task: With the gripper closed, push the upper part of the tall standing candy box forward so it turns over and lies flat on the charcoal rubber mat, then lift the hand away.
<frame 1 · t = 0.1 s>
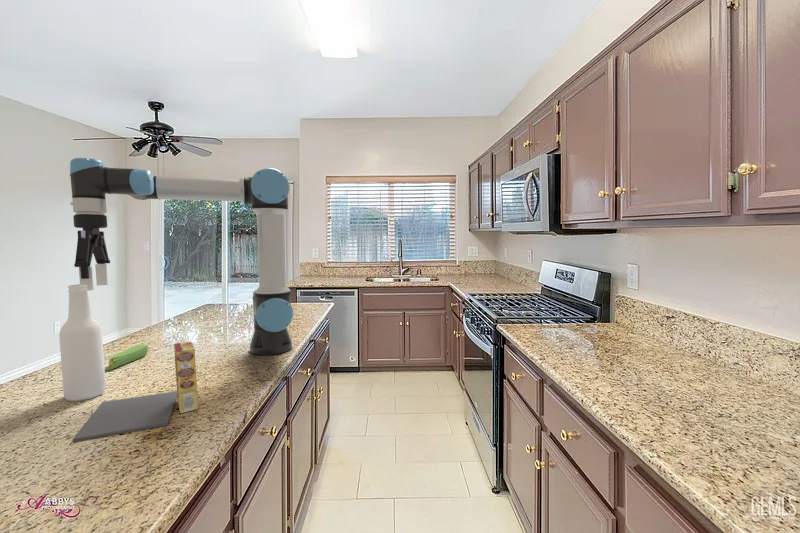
hand: (95, 287, 113), 28 cm above the counter, tool pointing down, fingers open, 13 cm apart
edible corn: (126, 363, 132), on the counter
rubber mat: (133, 414, 93), on the counter
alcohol: (85, 396, 105), on the counter
candy box: (187, 406, 97), on the counter
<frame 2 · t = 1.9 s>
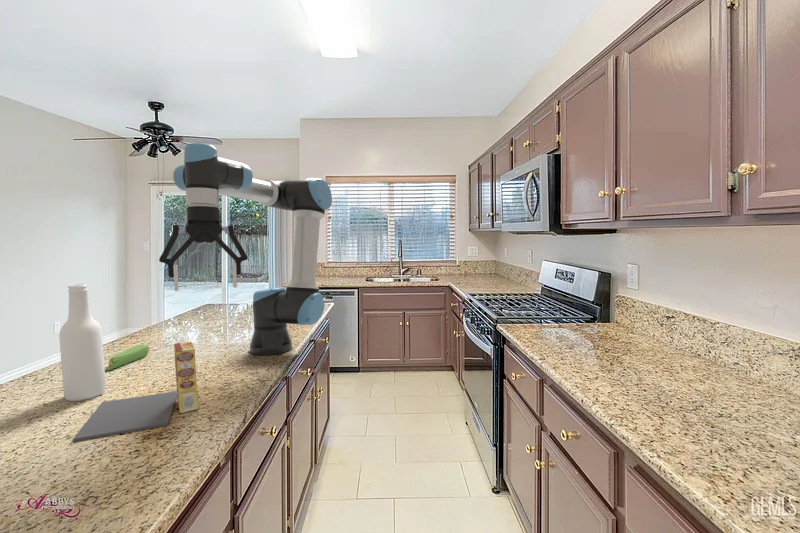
hand: (206, 288, 101), 29 cm above the counter, tool pointing down, fingers open, 13 cm apart
nothing on the counter moved.
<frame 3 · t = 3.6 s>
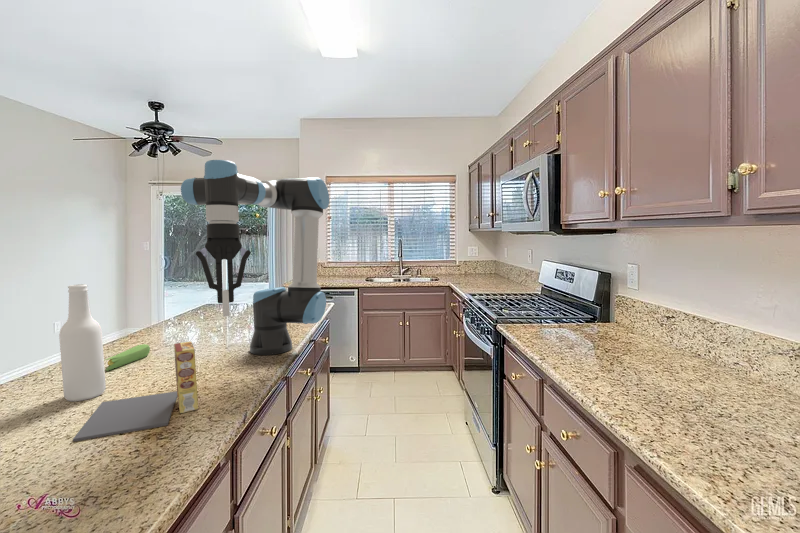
hand: (226, 315, 99), 22 cm above the counter, tool pointing down, fingers closed
nothing on the counter moved.
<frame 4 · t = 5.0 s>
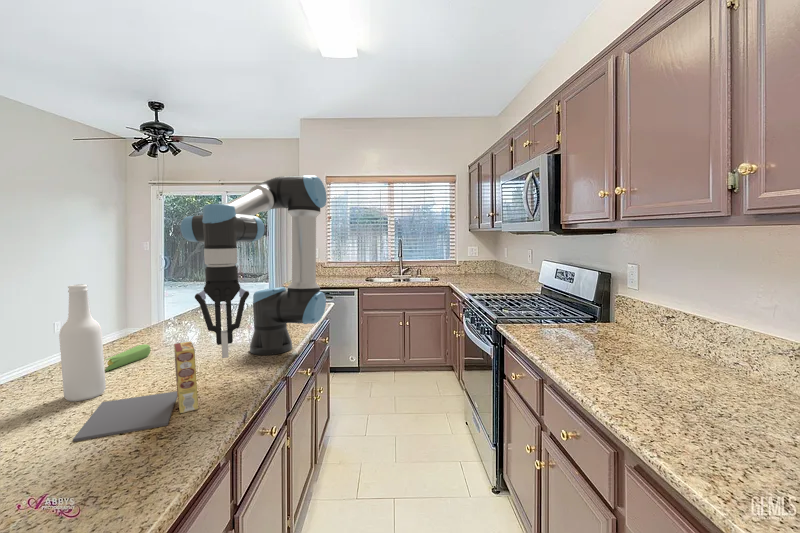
hand: (225, 356, 100), 11 cm above the counter, tool pointing down, fingers closed
nothing on the counter moved.
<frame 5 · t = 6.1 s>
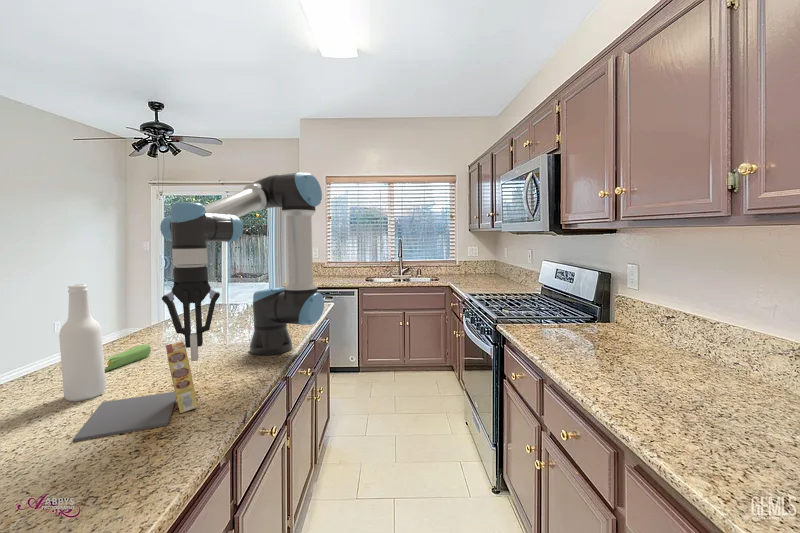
hand: (194, 359, 97), 12 cm above the counter, tool pointing down, fingers closed
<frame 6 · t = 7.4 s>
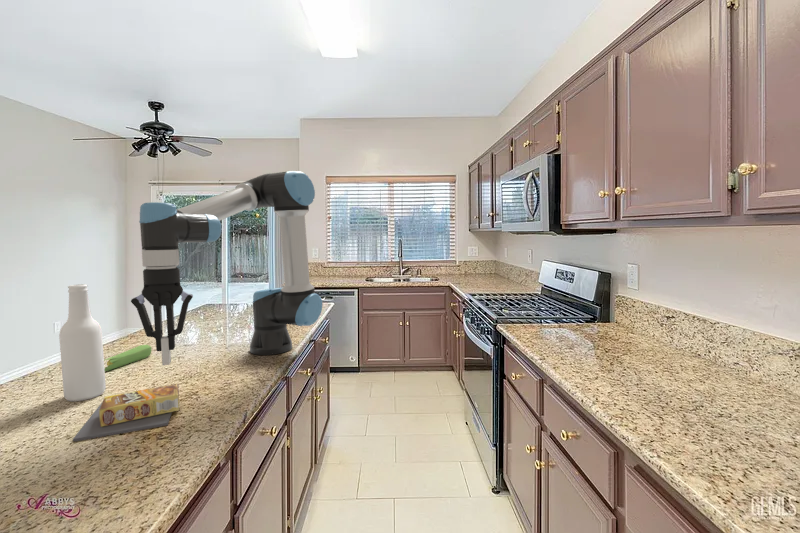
hand: (166, 363, 95), 11 cm above the counter, tool pointing down, fingers closed
candy box: (179, 396, 96), point 3 cm above the counter, touching rubber mat
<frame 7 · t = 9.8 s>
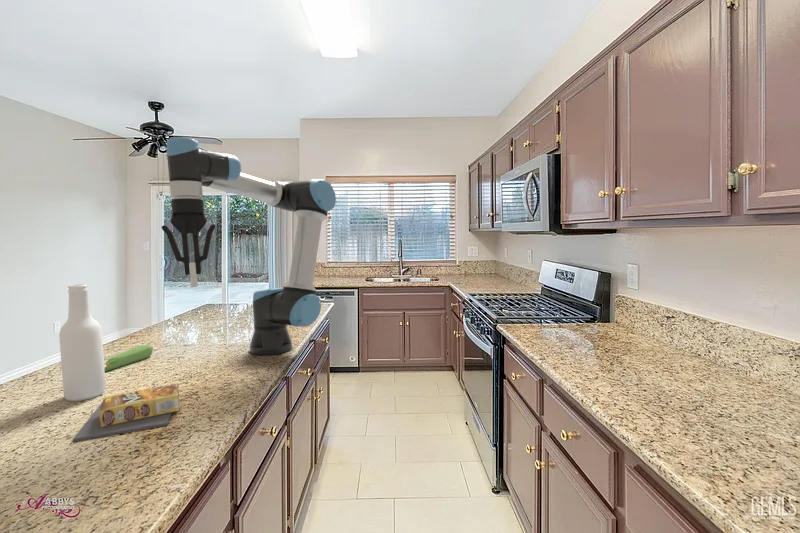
hand: (194, 286, 105), 29 cm above the counter, tool pointing down, fingers closed
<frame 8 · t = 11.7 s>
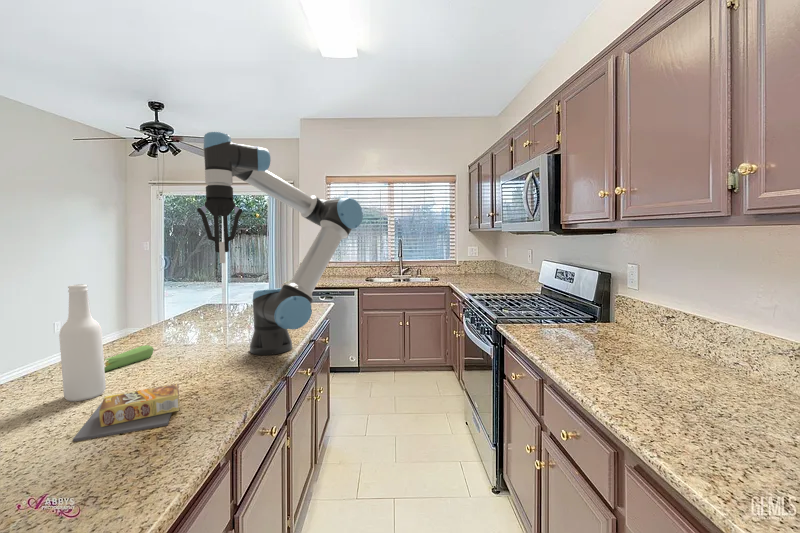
hand: (222, 262, 119), 34 cm above the counter, tool pointing down, fingers closed
at the end: candy box tilted 90°; candy box touching rubber mat; candy box inside the target area (3.0 cm from its centre), point 2.7 cm above the counter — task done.
